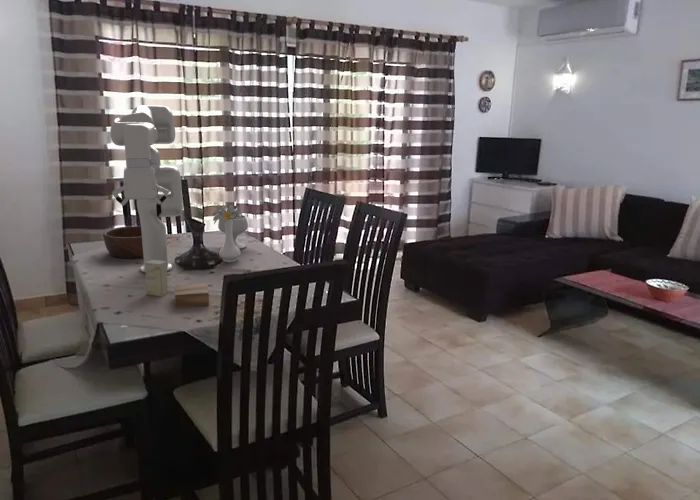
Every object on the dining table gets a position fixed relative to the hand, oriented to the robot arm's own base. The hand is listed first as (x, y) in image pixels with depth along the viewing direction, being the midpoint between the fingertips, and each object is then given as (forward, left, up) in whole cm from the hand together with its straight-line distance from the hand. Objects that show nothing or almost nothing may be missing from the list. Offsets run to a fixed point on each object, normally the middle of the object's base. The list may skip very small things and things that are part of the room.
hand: (142, 216), depth 181 cm
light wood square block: (-2, +14, -32) cm, 35 cm away
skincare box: (-13, +2, -31) cm, 34 cm away
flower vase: (-53, +30, -31) cm, 69 cm away
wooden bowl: (-74, -11, -32) cm, 81 cm away
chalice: (-76, +34, -31) cm, 89 cm away
